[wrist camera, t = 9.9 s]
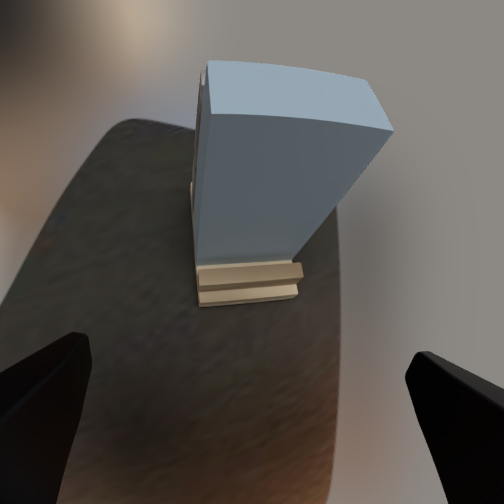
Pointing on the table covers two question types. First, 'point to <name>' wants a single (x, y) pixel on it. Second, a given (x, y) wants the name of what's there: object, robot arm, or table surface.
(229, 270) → the book stand
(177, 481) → the table surface
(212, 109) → the book
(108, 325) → the table surface
